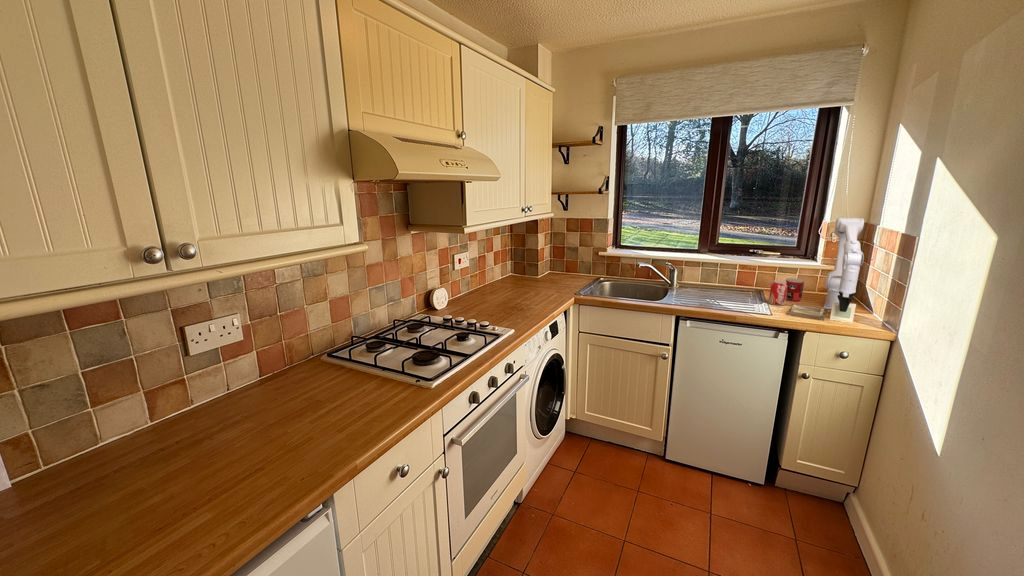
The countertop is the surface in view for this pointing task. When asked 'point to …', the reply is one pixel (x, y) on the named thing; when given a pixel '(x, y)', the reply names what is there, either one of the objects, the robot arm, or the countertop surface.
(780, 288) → the soda can
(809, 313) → the notched board
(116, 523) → the countertop surface
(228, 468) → the countertop surface
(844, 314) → the picture frame
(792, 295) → the canned food
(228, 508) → the countertop surface
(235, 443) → the countertop surface
